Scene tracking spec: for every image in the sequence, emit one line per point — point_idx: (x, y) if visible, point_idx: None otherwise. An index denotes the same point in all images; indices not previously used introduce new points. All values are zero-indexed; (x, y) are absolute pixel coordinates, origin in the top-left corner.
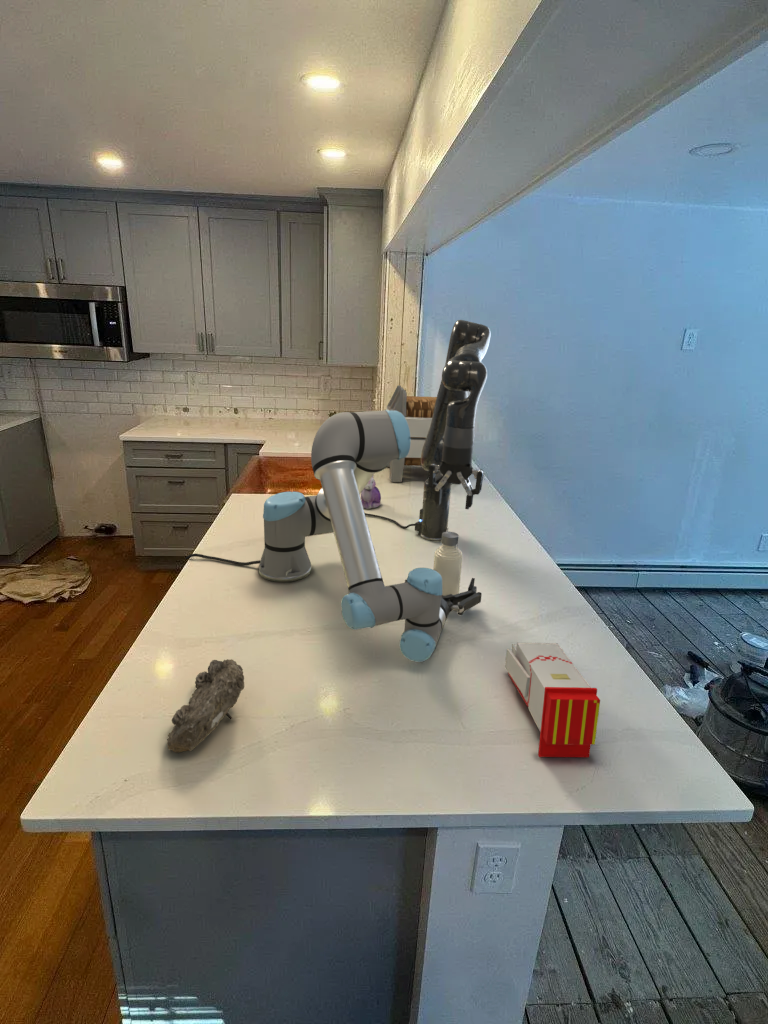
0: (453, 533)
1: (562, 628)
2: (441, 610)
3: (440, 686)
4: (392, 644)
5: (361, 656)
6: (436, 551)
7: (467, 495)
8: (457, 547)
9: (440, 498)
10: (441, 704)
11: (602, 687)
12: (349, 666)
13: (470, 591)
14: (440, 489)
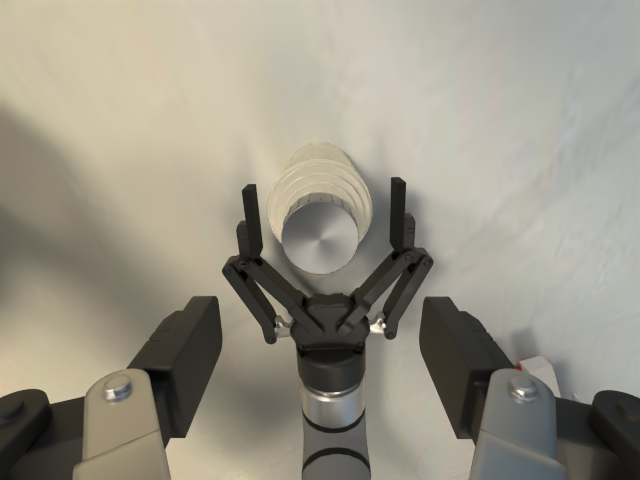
0: (330, 218)
1: (602, 196)
2: (358, 397)
3: (378, 432)
4: (276, 372)
5: (244, 414)
6: (276, 230)
7: (465, 426)
8: (350, 199)
9: (205, 346)
10: (387, 459)
11: (628, 356)
12: (240, 438)
13: (403, 262)
14: (166, 418)
